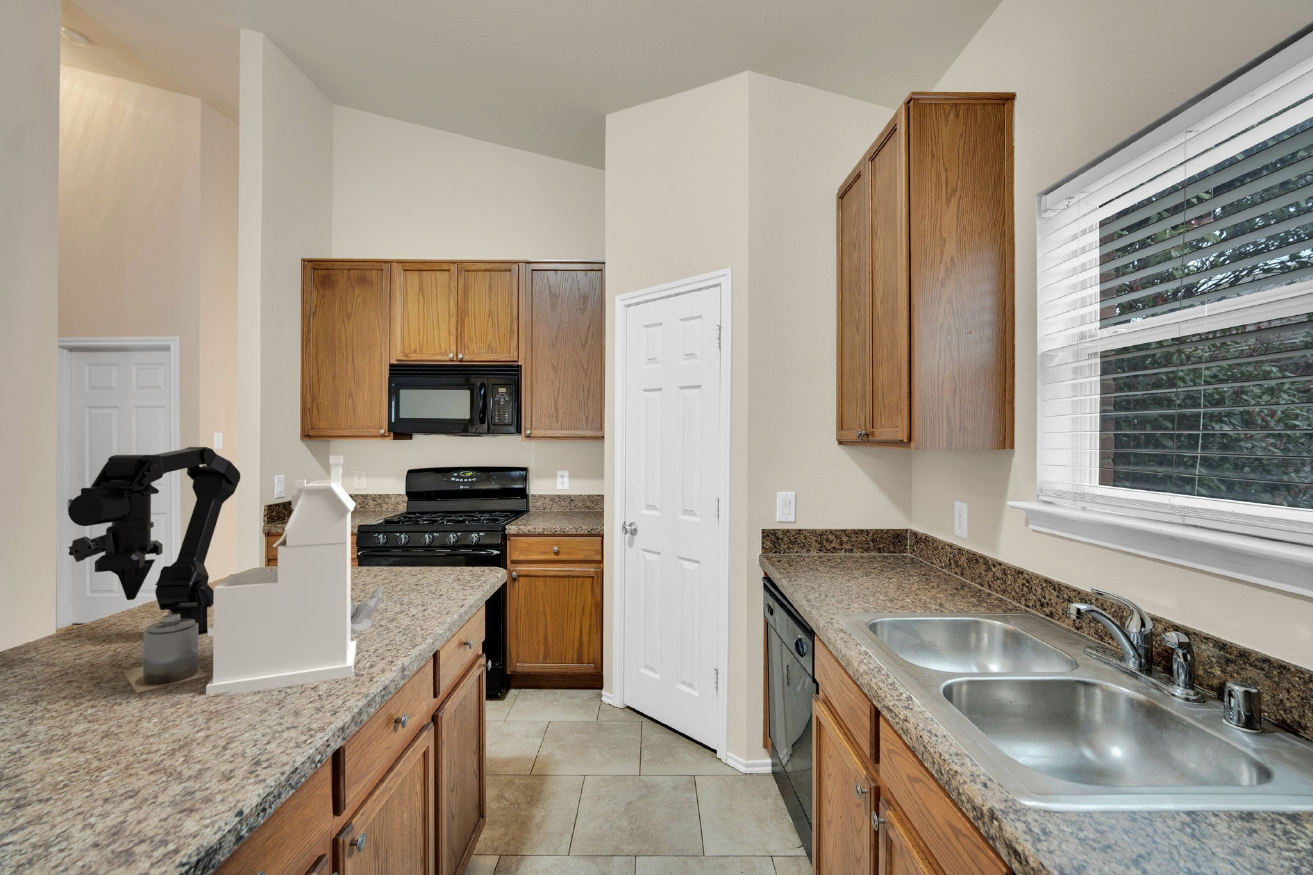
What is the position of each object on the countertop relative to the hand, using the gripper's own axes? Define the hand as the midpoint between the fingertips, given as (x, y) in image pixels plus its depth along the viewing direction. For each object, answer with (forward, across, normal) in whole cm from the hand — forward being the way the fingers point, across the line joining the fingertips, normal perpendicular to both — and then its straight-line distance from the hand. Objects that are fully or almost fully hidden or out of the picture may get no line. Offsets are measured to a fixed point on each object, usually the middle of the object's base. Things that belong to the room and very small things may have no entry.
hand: (131, 599), depth 114 cm
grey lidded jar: (+11, +15, +9) cm, 21 cm away
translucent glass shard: (+12, -4, +38) cm, 40 cm away
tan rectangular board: (+12, +12, +7) cm, 19 cm away
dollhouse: (+12, +21, +27) cm, 36 cm away
